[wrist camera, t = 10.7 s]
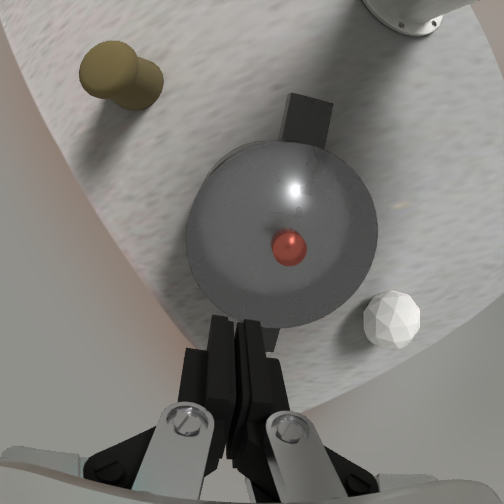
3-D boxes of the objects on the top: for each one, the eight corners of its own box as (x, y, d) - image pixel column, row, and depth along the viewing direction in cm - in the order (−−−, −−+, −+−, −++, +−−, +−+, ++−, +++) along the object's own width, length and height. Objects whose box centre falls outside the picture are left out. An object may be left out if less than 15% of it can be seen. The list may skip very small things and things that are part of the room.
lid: (204, 125, 23) (201, 124, 21) (392, 167, 25) (407, 171, 23) (178, 309, 29) (174, 325, 26) (343, 329, 31) (352, 344, 28)
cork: (120, 119, 31) (78, 114, 21) (105, 72, 29) (62, 52, 19) (170, 98, 31) (146, 82, 21) (155, 51, 29) (127, 19, 19)
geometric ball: (381, 285, 44) (430, 286, 38) (381, 338, 44) (429, 344, 38) (349, 293, 40) (403, 295, 33) (350, 353, 40) (402, 362, 33)
